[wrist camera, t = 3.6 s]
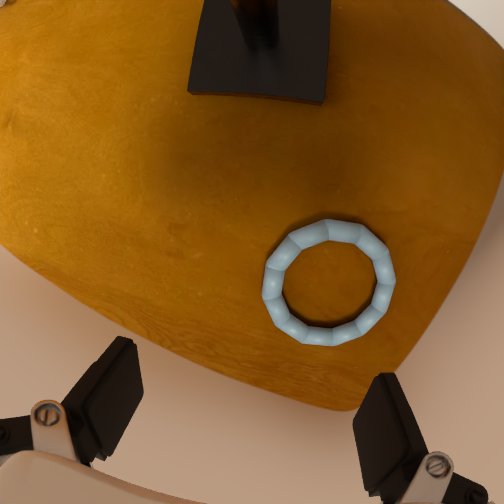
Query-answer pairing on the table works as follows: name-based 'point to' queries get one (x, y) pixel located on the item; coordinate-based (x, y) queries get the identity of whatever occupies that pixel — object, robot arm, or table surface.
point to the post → (262, 50)
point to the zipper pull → (2, 2)
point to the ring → (311, 237)
